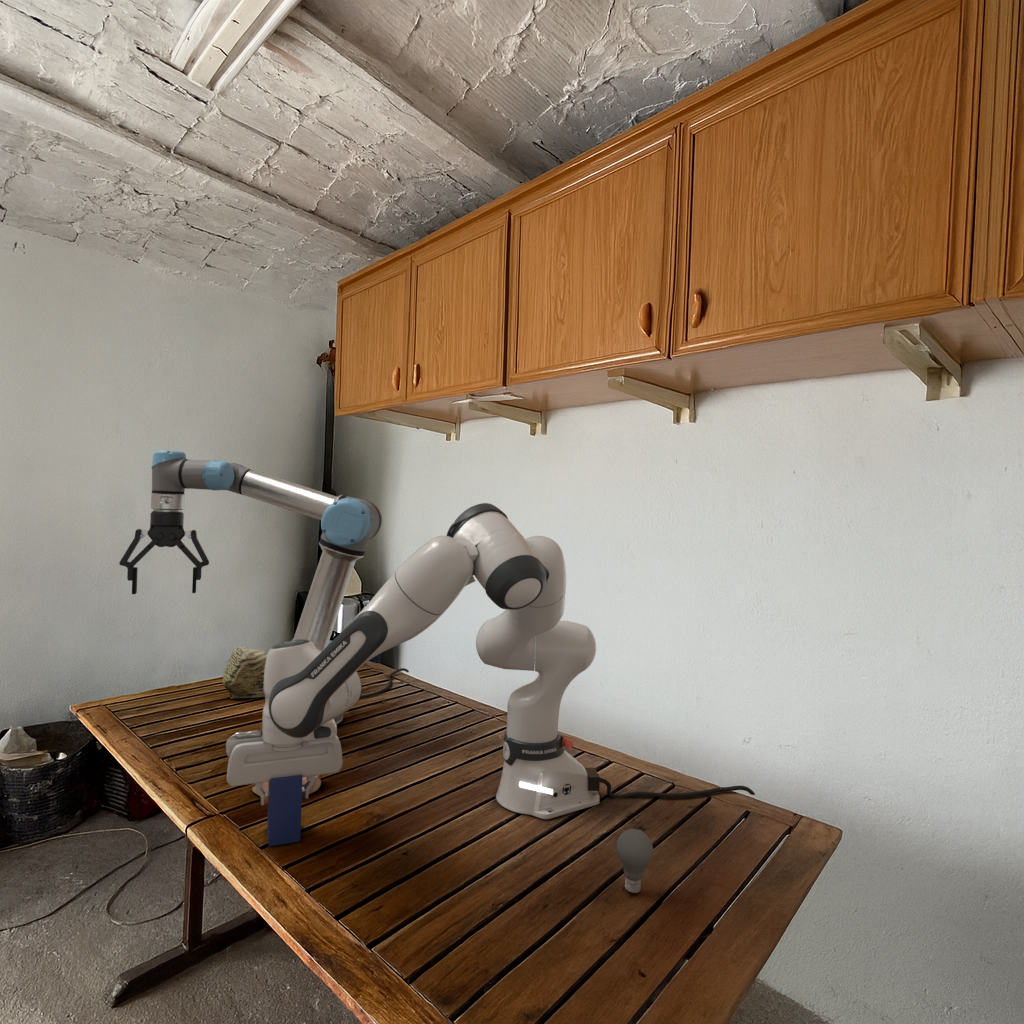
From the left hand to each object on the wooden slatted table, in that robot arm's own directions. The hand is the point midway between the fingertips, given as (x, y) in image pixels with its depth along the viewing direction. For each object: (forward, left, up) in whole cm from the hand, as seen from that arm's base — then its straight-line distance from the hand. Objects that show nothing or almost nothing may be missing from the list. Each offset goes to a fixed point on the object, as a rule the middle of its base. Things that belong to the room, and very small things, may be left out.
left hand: (164, 593), depth 163 cm
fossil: (-33, -13, -36) cm, 51 cm away
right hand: (+6, +67, -30) cm, 74 cm away
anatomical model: (-5, +51, -36) cm, 63 cm away
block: (+6, +67, -36) cm, 76 cm away
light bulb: (-24, +124, -36) cm, 131 cm away
